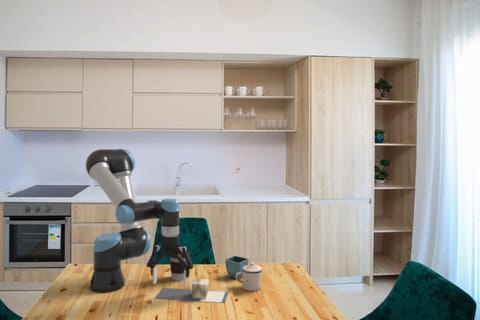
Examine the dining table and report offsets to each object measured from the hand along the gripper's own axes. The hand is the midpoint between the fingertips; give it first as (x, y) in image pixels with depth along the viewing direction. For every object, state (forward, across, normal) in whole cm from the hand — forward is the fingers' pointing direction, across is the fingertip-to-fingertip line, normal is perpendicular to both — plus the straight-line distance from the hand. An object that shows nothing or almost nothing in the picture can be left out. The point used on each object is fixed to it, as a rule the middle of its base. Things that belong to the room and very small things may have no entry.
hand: (170, 283), depth 167 cm
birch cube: (+1, +10, 0) cm, 10 cm away
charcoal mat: (+5, +10, 0) cm, 11 cm away
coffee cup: (+5, -1, +19) cm, 20 cm away
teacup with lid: (+6, +33, +14) cm, 36 cm away
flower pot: (+6, +26, +27) cm, 38 cm away
